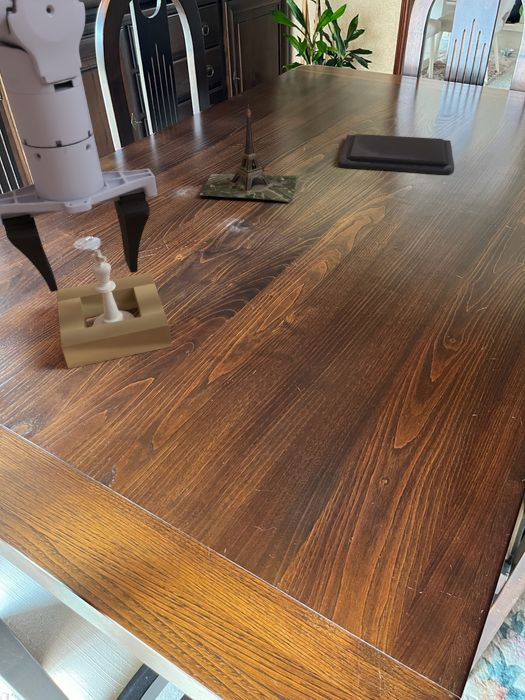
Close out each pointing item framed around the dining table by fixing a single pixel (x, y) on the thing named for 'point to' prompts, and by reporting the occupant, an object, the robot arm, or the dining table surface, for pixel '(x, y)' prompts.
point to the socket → (117, 336)
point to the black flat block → (397, 154)
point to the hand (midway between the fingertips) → (93, 276)
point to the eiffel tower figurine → (250, 178)
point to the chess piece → (106, 291)
